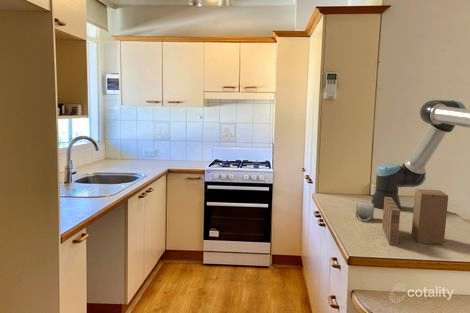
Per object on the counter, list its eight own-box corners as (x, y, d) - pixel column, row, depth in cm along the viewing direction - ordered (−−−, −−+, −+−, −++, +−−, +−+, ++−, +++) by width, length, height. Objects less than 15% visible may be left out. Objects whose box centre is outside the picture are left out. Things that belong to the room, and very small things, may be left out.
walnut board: (382, 227, 175) (384, 196, 173) (389, 227, 174) (391, 197, 172) (389, 244, 152) (391, 210, 150) (397, 245, 151) (400, 210, 149)
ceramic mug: (356, 215, 193) (356, 200, 192) (373, 217, 191) (374, 202, 190) (354, 221, 184) (355, 205, 183) (373, 223, 181) (374, 207, 180)
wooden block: (444, 244, 153) (448, 195, 151) (417, 242, 155) (421, 193, 153) (436, 236, 163) (440, 190, 161) (411, 234, 165) (414, 188, 163)
